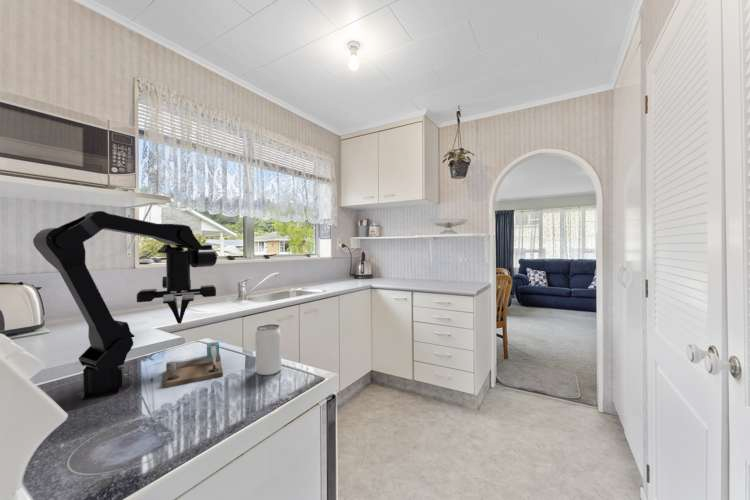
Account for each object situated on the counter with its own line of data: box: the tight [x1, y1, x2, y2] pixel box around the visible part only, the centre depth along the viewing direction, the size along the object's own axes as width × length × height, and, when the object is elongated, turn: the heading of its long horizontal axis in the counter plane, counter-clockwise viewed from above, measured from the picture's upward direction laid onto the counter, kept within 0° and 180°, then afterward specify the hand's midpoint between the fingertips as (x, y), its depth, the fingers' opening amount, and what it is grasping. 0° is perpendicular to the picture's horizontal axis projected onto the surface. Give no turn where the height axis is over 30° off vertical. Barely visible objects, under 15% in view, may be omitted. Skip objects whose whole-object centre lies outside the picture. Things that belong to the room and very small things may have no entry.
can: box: [254, 323, 282, 376], centre depth 84 cm, size 6×6×12 cm
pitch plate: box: [162, 353, 224, 389], centre depth 83 cm, size 13×12×4 cm
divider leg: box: [206, 341, 220, 369], centre depth 87 cm, size 3×10×4 cm, turn 30°
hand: (179, 323), depth 89 cm, fingers closed
